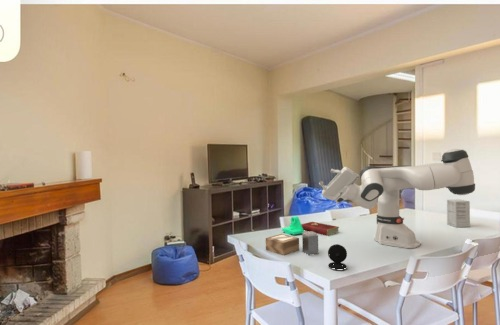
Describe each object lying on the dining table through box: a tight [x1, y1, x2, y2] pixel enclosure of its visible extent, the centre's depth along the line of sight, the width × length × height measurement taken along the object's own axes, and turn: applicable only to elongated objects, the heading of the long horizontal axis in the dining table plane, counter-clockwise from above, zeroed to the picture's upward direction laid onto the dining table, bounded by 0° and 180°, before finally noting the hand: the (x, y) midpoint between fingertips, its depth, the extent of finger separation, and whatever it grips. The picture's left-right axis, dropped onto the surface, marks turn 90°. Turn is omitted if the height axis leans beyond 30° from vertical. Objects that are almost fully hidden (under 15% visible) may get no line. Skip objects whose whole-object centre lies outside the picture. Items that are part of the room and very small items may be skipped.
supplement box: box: [446, 198, 471, 228], centre depth 199 cm, size 10×9×17 cm
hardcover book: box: [301, 221, 340, 237], centre depth 191 cm, size 12×21×4 cm, turn 40°
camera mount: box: [281, 216, 305, 236], centre depth 187 cm, size 12×8×10 cm, turn 31°
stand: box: [265, 233, 300, 256], centre depth 154 cm, size 12×12×6 cm
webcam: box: [327, 243, 348, 269], centre depth 128 cm, size 8×8×10 cm
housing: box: [301, 231, 319, 256], centre depth 148 cm, size 6×6×10 cm
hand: (325, 176), depth 153 cm, fingers open, 8 cm apart
